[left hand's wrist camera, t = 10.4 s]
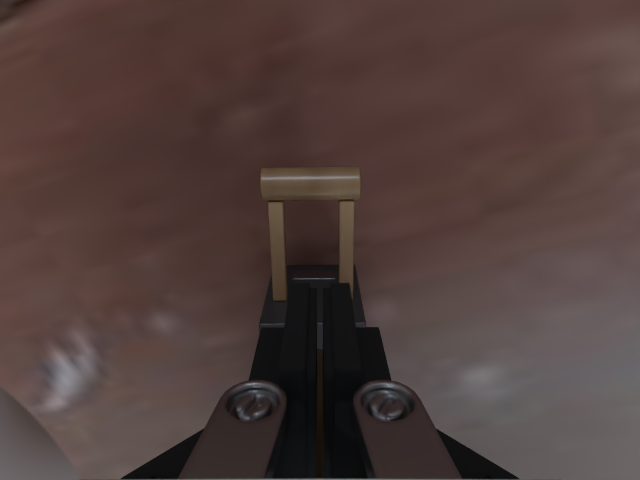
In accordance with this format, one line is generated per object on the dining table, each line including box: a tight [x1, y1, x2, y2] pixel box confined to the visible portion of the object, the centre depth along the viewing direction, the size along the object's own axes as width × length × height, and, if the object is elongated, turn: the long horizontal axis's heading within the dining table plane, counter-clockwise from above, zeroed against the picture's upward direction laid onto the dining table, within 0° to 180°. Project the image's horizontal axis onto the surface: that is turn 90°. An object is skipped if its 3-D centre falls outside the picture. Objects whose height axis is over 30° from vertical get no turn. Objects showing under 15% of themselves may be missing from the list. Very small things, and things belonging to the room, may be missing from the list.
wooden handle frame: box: [259, 167, 366, 479], centre depth 21 cm, size 20×4×6 cm, turn 1°
